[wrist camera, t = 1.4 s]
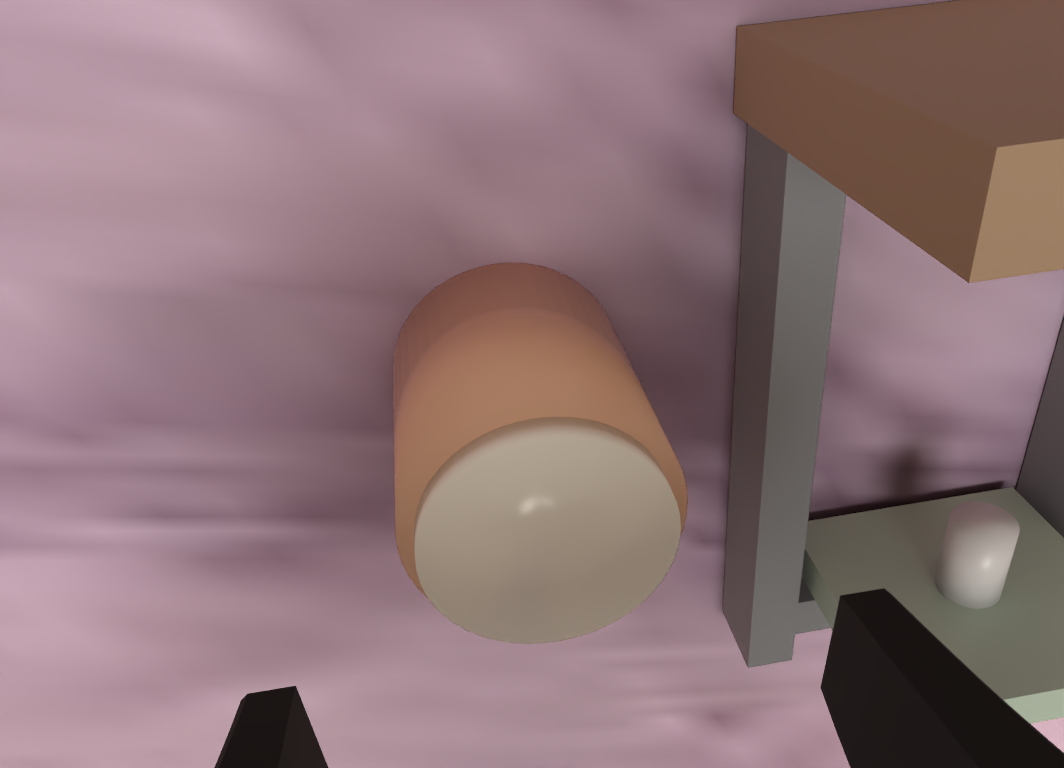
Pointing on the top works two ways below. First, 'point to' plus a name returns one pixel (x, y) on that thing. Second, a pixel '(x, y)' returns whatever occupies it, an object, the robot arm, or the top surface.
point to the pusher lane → (904, 204)
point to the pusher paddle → (960, 584)
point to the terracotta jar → (528, 459)
